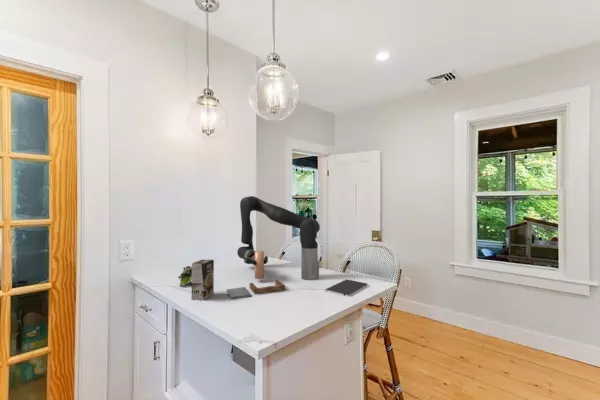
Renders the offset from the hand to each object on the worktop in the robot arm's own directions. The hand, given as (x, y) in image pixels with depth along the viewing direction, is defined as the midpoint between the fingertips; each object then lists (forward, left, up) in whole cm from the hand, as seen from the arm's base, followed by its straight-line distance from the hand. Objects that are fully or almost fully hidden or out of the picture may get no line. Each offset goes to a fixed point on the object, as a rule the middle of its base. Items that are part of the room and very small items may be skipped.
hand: (260, 262), depth 153 cm
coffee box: (+30, +10, -11) cm, 34 cm away
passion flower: (+34, -13, -11) cm, 38 cm away
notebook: (-37, +27, -11) cm, 47 cm away
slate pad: (+15, +13, -11) cm, 22 cm away
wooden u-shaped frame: (0, +11, -11) cm, 16 cm away
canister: (0, -2, -9) cm, 9 cm away
